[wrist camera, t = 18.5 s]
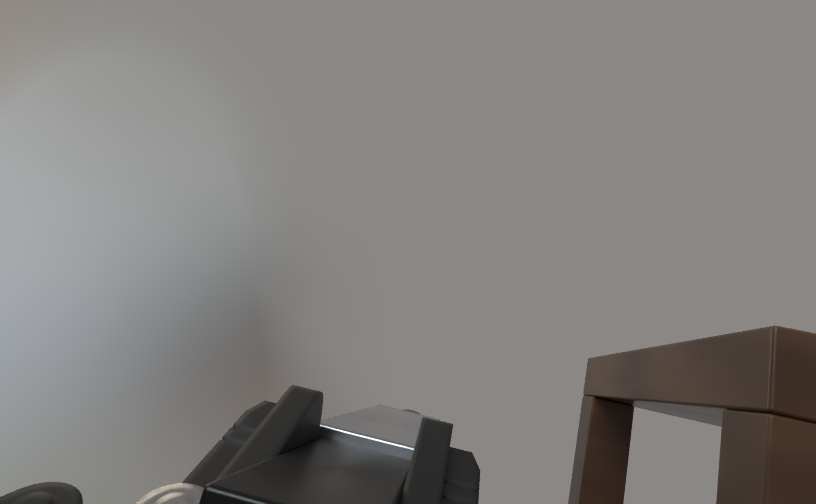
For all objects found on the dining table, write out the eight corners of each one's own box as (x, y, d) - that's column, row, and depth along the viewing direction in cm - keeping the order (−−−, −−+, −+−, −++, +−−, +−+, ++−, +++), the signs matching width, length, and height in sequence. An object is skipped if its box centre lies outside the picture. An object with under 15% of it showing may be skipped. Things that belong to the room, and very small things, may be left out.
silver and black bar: (352, 812, 5) (412, 513, 6) (103, 722, 6) (188, 453, 6) (428, 480, 24) (440, 417, 25) (369, 464, 25) (383, 403, 25)
